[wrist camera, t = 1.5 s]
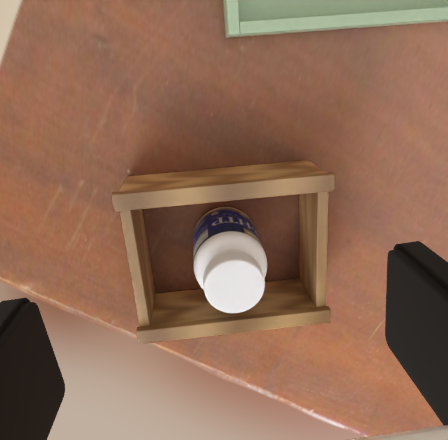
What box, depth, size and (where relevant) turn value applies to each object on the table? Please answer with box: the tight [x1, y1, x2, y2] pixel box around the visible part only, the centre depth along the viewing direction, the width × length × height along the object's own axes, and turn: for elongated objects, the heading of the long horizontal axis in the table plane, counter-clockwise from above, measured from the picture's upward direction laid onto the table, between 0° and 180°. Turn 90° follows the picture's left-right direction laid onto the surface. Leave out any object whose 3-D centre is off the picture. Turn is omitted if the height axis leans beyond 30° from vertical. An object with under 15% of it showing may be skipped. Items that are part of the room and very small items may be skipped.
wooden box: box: [111, 160, 335, 344], centre depth 31 cm, size 15×12×6 cm
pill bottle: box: [193, 207, 267, 313], centre depth 29 cm, size 5×5×9 cm
